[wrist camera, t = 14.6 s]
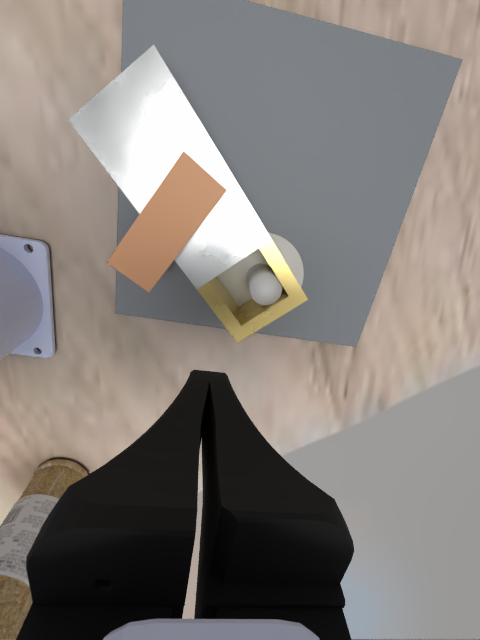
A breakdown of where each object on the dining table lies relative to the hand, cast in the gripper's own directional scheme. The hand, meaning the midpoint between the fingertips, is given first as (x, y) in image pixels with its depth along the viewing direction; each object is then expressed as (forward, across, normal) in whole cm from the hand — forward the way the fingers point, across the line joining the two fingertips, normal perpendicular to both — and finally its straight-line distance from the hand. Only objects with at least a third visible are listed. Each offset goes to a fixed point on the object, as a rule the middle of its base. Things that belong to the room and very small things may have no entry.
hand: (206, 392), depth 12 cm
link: (+9, +1, -6) cm, 11 cm away
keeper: (+10, +2, -6) cm, 12 cm away
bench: (+10, -2, -7) cm, 12 cm away
